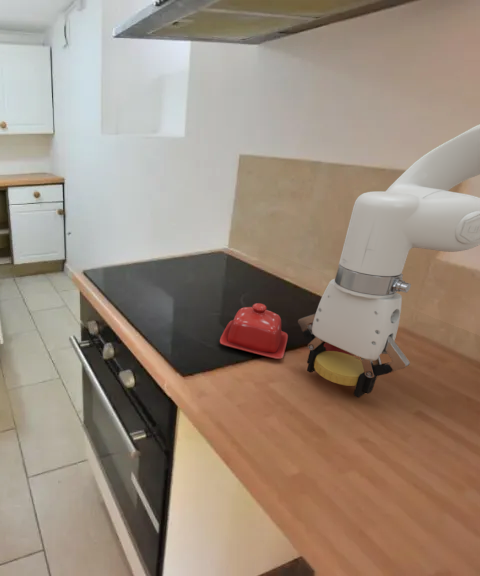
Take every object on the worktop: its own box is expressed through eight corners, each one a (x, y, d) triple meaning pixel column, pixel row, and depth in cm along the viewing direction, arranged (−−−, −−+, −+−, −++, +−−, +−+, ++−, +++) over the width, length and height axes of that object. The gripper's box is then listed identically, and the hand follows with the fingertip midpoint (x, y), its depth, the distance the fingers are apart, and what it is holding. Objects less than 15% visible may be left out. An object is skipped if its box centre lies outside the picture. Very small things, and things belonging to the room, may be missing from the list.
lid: (349, 392, 57) (352, 382, 56) (304, 368, 62) (306, 358, 62) (374, 376, 60) (377, 367, 59) (329, 355, 66) (331, 346, 65)
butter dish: (281, 366, 68) (291, 323, 65) (216, 349, 73) (222, 309, 70) (287, 338, 77) (296, 299, 74) (229, 324, 82) (235, 288, 79)
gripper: (451, 294, 50) (408, 403, 57) (322, 259, 64) (300, 350, 71) (425, 307, 46) (383, 421, 53) (294, 266, 60) (274, 362, 67)
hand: (336, 380), depth 62 cm, fingers closed on lid, 6 cm apart
